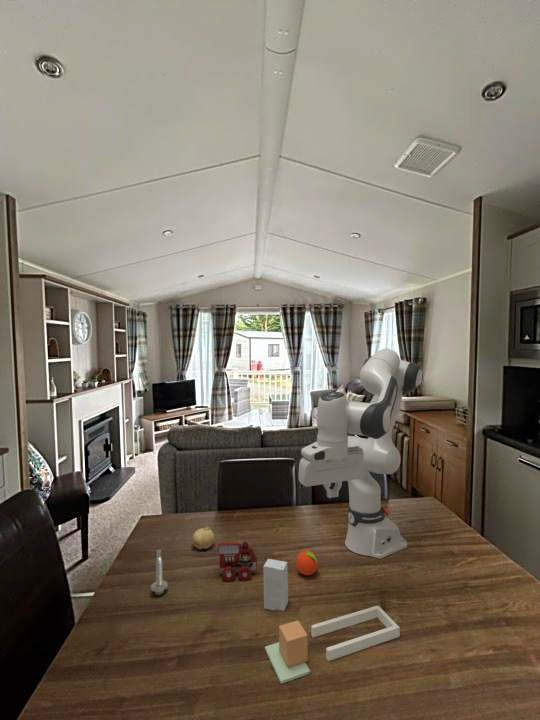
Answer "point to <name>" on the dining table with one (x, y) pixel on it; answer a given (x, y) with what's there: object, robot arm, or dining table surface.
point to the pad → (281, 668)
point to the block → (293, 643)
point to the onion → (203, 538)
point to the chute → (360, 642)
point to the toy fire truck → (236, 560)
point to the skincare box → (275, 584)
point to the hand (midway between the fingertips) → (332, 496)
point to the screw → (159, 576)
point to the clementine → (306, 563)
